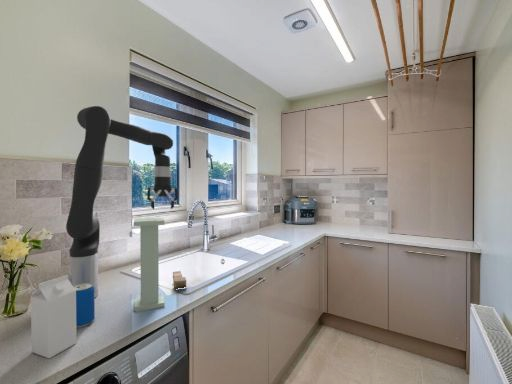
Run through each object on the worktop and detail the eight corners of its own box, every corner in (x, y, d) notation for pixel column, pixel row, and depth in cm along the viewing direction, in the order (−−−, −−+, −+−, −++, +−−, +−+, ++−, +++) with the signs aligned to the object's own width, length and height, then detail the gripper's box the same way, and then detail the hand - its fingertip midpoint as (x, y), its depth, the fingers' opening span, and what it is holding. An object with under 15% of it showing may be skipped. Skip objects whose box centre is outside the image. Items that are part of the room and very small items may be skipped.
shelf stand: (164, 308, 93) (164, 220, 92) (134, 313, 89) (133, 221, 88) (163, 297, 101) (163, 217, 101) (135, 302, 98) (135, 218, 97)
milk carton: (31, 352, 68) (30, 281, 67) (60, 337, 75) (59, 273, 74) (48, 359, 65) (47, 285, 65) (76, 343, 72) (76, 276, 72)
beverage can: (90, 315, 87) (90, 281, 87) (97, 322, 83) (97, 285, 83) (67, 323, 82) (67, 286, 82) (74, 331, 78) (73, 292, 78)
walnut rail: (186, 289, 110) (186, 280, 110) (174, 290, 108) (174, 281, 108) (181, 276, 125) (181, 268, 125) (171, 278, 123) (171, 270, 123)
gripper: (147, 175, 120) (147, 209, 121) (178, 176, 126) (178, 209, 126) (147, 176, 127) (147, 208, 128) (176, 176, 133) (176, 207, 133)
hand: (162, 208), depth 127 cm, fingers open, 8 cm apart
